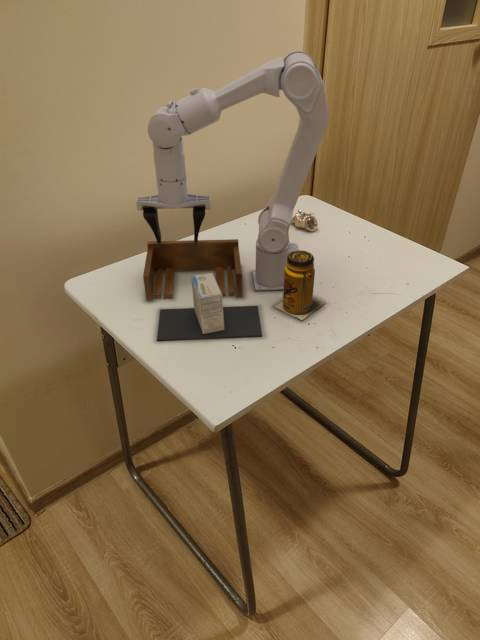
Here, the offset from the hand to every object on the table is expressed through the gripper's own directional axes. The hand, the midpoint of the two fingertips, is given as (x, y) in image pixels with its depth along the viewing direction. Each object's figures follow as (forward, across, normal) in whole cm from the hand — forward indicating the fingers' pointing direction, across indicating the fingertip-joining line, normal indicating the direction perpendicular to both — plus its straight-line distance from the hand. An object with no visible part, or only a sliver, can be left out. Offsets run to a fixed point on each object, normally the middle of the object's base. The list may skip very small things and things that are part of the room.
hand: (177, 240), depth 105 cm
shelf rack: (+9, -3, +2) cm, 10 cm away
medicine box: (+9, -6, +17) cm, 20 cm away
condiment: (+10, -25, +12) cm, 29 cm away
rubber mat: (+9, -6, +17) cm, 20 cm away
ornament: (+10, -32, -25) cm, 42 cm away
